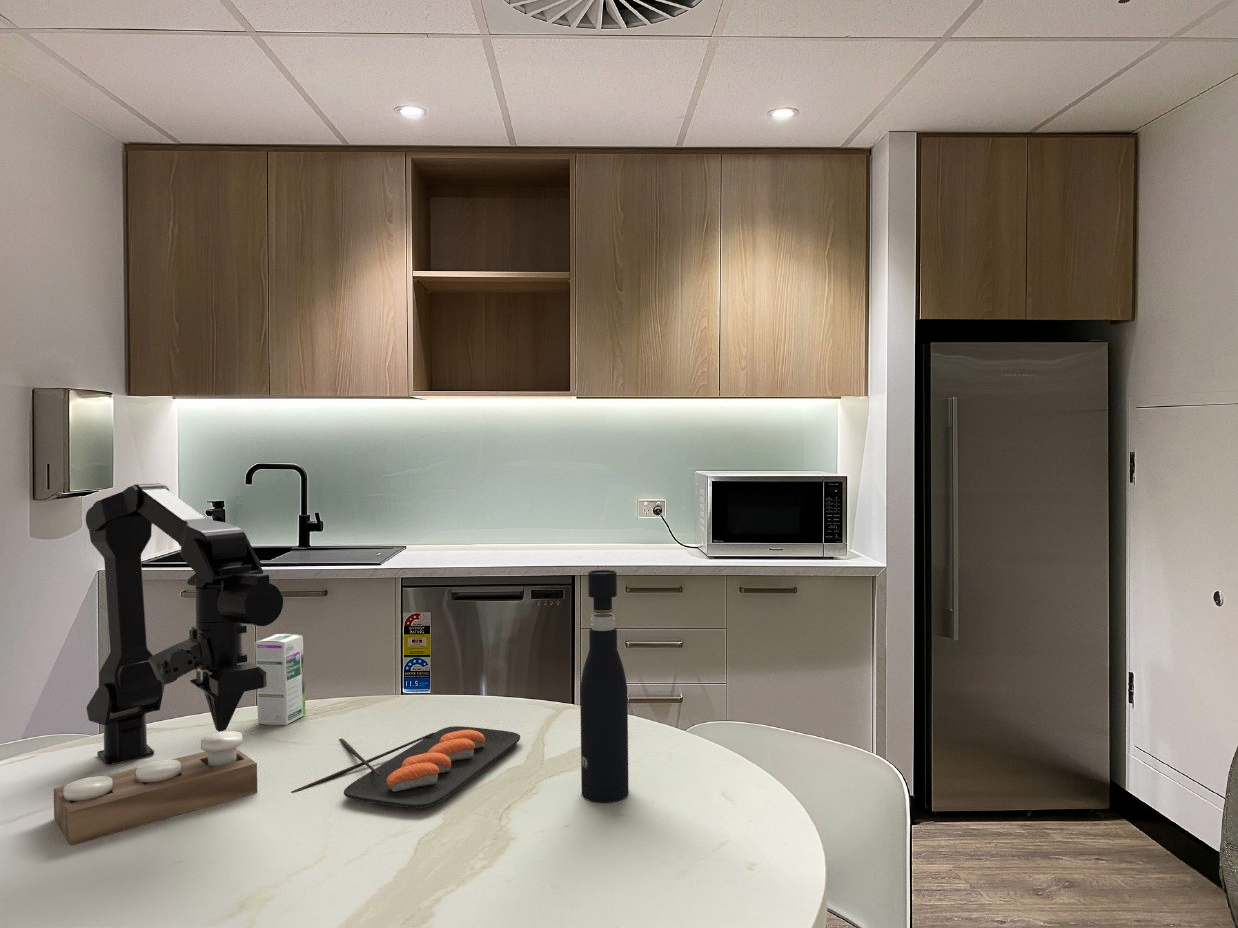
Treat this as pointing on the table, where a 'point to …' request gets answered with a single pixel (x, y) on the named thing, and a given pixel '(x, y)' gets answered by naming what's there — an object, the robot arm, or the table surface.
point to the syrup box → (281, 679)
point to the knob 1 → (88, 788)
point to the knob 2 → (221, 747)
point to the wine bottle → (603, 701)
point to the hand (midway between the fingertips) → (221, 730)
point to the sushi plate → (426, 767)
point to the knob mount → (154, 797)
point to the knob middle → (158, 771)
